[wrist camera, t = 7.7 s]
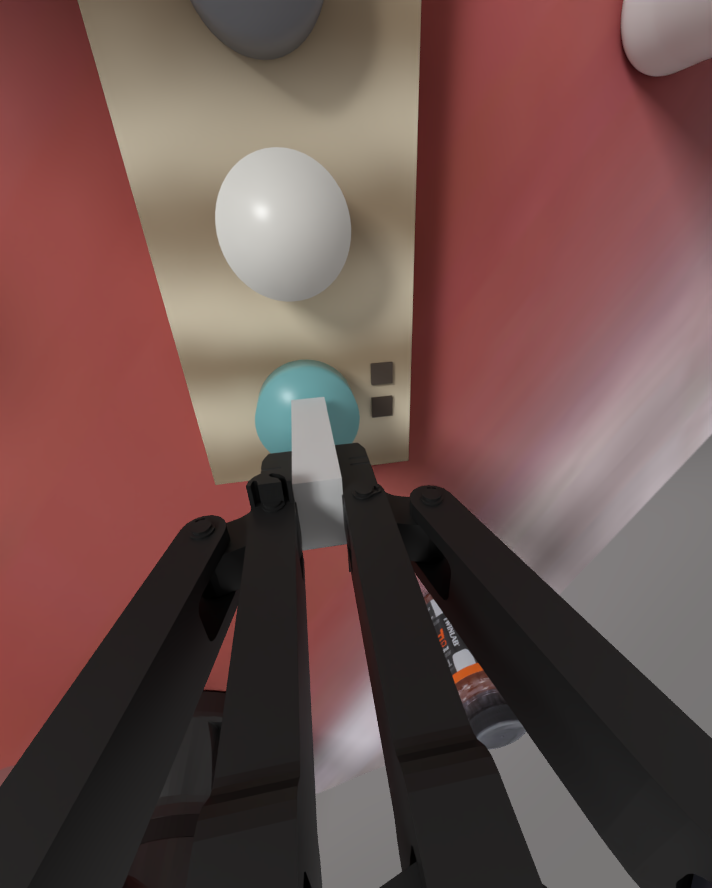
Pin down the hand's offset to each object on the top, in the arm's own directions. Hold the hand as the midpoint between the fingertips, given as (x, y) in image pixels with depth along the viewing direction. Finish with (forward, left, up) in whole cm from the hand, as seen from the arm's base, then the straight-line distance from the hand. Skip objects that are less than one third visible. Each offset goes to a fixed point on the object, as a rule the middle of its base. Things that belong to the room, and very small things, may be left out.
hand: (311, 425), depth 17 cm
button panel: (+8, 0, -7) cm, 10 cm away
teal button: (0, 0, -3) cm, 3 cm away
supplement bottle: (-24, -11, -7) cm, 27 cm away
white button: (+8, 0, -3) cm, 8 cm away
